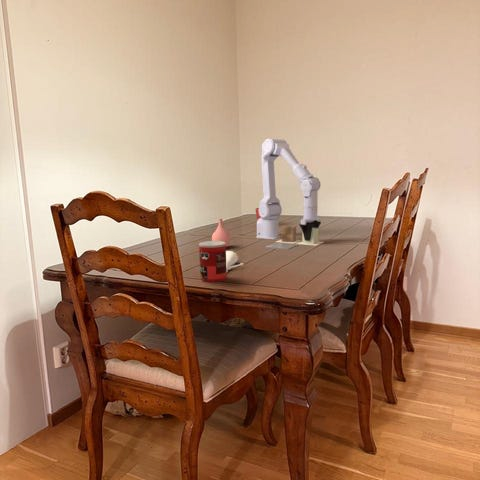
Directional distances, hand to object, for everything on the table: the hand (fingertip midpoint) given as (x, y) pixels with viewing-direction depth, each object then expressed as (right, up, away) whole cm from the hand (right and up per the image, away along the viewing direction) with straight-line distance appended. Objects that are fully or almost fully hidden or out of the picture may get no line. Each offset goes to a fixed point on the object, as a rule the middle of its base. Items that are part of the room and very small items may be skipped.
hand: (310, 239), depth 183 cm
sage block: (0, -1, 0) cm, 1 cm away
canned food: (-37, -12, -52) cm, 65 cm away
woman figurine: (-34, -10, -37) cm, 51 cm away
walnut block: (-8, -1, +6) cm, 10 cm away
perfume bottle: (-37, -4, -5) cm, 38 cm away
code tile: (0, -2, 0) cm, 2 cm away
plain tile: (-8, -1, +6) cm, 10 cm away
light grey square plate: (-12, -3, -6) cm, 14 cm away
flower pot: (-16, +7, +52) cm, 55 cm away
